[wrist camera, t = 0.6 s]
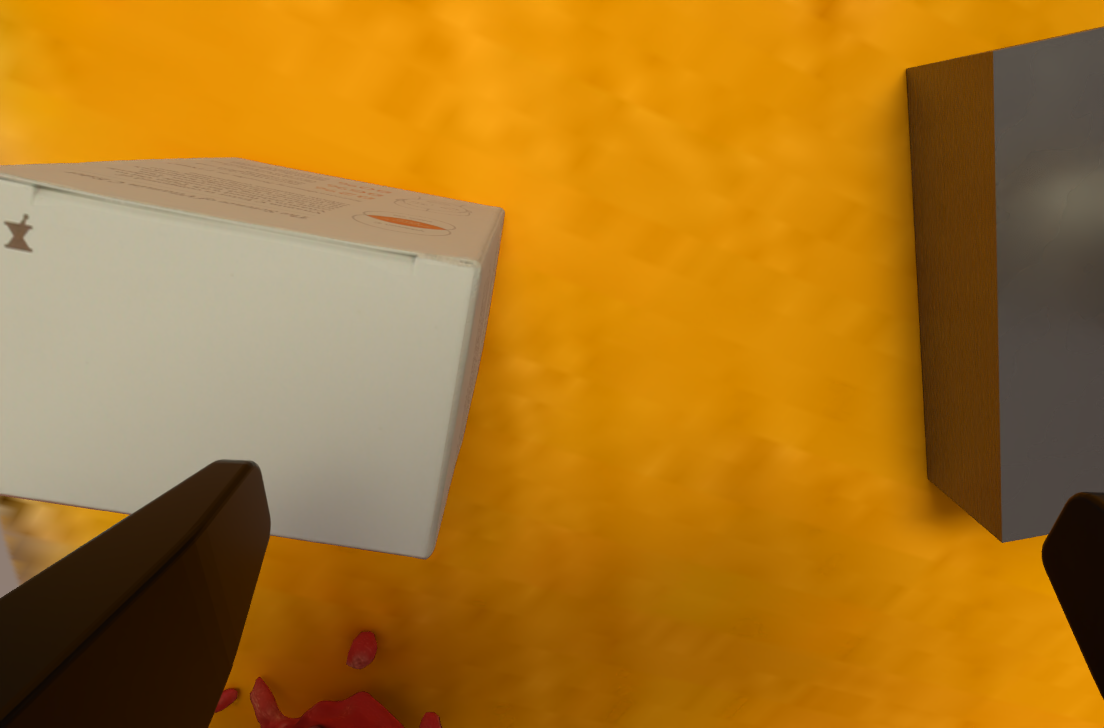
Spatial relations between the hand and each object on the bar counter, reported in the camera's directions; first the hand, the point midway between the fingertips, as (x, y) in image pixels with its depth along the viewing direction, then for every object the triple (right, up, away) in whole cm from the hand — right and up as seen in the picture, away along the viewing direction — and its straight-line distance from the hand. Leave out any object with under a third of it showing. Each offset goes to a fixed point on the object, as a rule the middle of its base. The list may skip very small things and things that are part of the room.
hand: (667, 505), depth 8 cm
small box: (-7, +4, +14) cm, 16 cm away
